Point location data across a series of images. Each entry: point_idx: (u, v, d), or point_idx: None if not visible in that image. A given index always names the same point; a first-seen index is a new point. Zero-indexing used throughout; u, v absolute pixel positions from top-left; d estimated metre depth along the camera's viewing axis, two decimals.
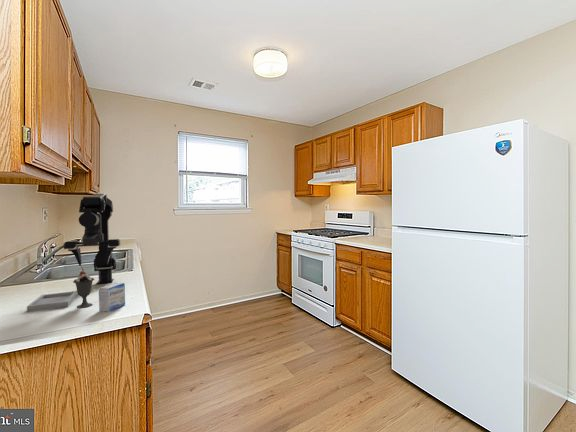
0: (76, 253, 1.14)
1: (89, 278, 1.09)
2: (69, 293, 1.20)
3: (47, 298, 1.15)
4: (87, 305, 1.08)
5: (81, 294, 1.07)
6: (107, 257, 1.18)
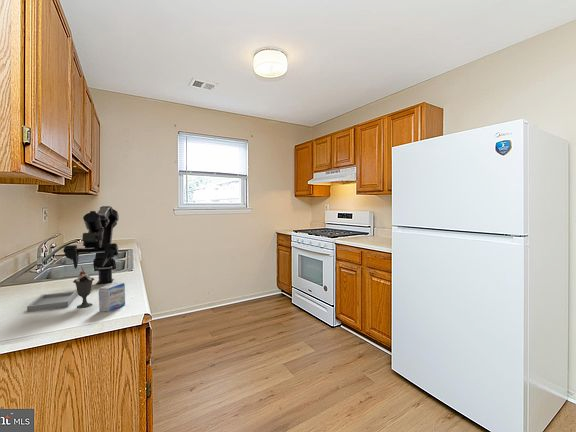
0: (74, 255, 1.16)
1: (89, 278, 1.09)
2: (69, 293, 1.20)
3: (47, 298, 1.15)
4: (87, 305, 1.08)
5: (81, 294, 1.07)
6: (103, 259, 1.18)
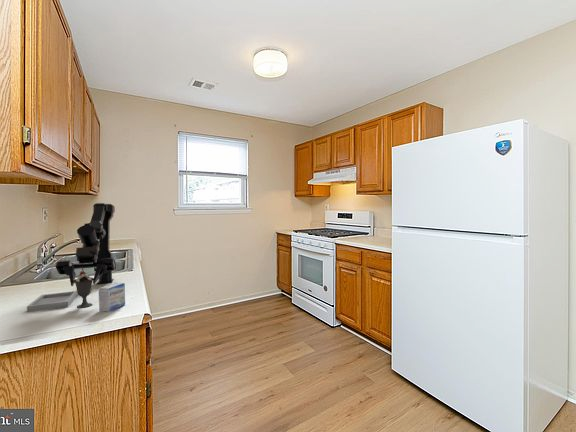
0: (71, 271, 1.08)
1: (89, 278, 1.09)
2: (69, 293, 1.20)
3: (47, 298, 1.15)
4: (87, 305, 1.08)
5: (81, 294, 1.07)
6: (95, 276, 1.10)
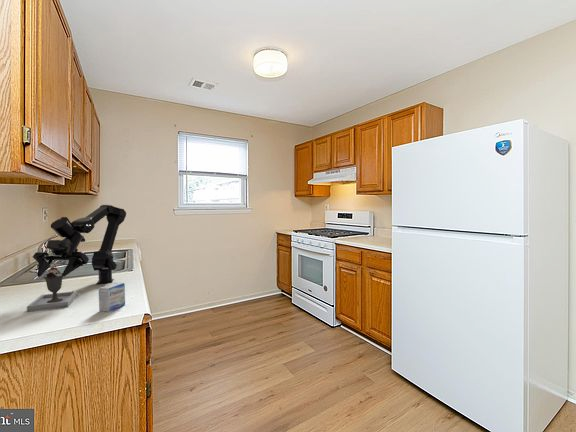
0: (40, 262, 1.13)
1: (57, 274, 1.11)
2: (69, 293, 1.20)
3: (47, 298, 1.15)
4: (55, 300, 1.11)
5: (49, 289, 1.10)
6: (66, 268, 1.12)
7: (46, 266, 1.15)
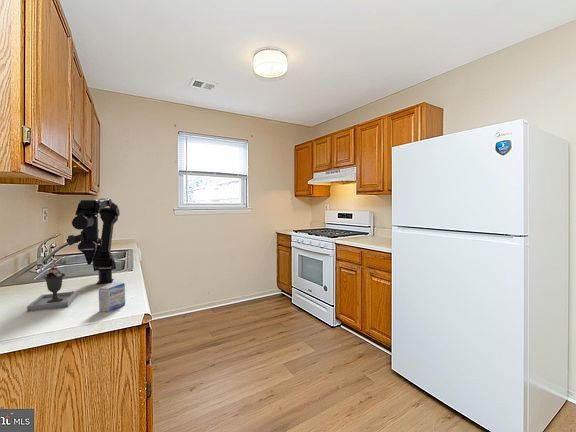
0: None
1: (57, 274, 1.11)
2: (69, 293, 1.20)
3: (47, 298, 1.15)
4: (55, 300, 1.11)
5: (49, 289, 1.10)
6: None
7: (96, 249, 1.32)
